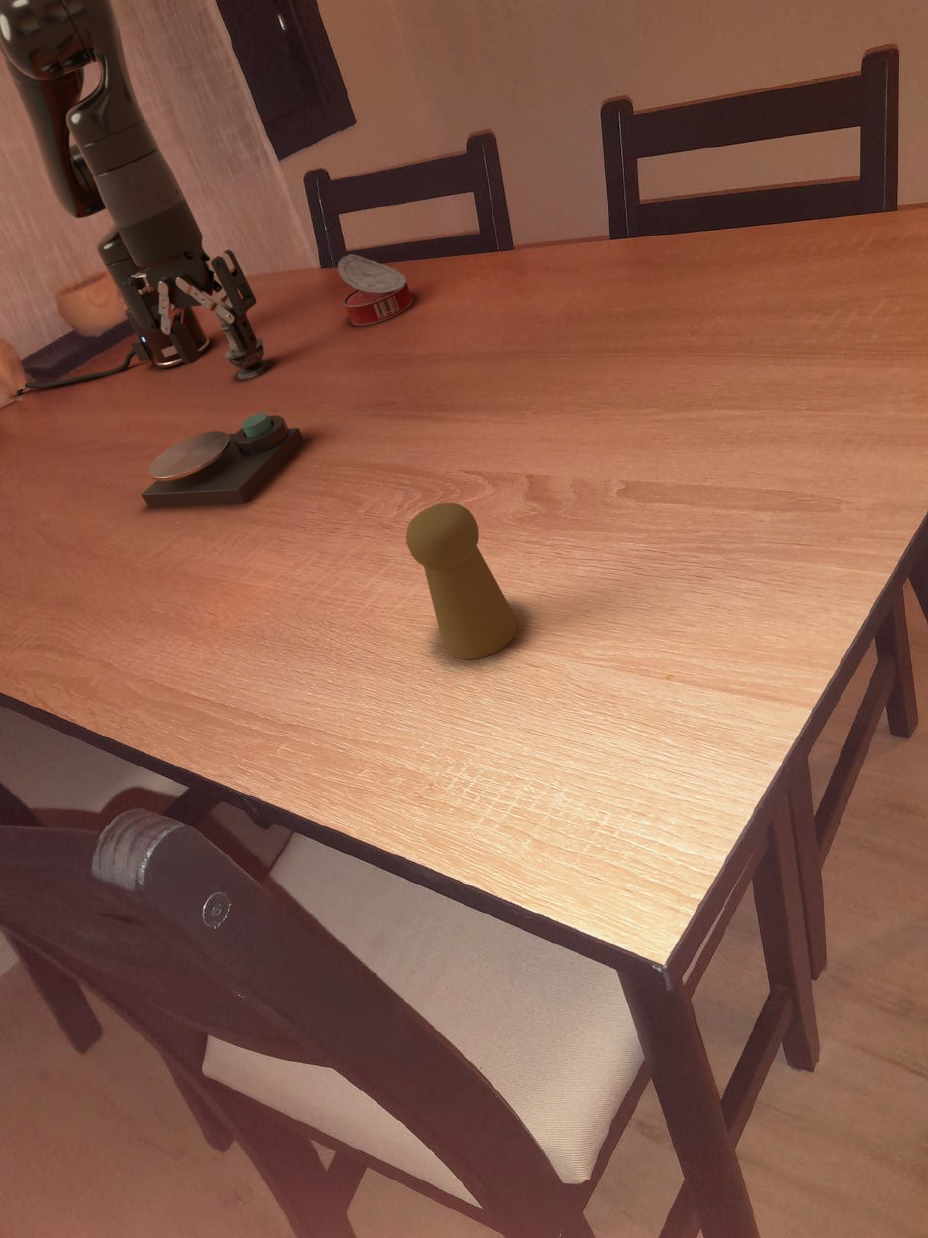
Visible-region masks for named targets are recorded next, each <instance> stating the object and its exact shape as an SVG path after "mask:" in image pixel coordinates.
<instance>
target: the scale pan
mask: <svg viewBox="0 0 928 1238" xmlns="http://www.w3.org/2000/svg"><path fill="white" fill-rule="evenodd" d="M227 434H228V433H226V432H224V431H221V430H214V431H213V430H212V431H208V432H202V433H199V434H195V435H193V436H190V437H187V438H185V439H183V440H181V441H178V442H177V443H174V444H173V445H171V446H170V447H168V448H167V449H165V450H164V451H162V452H161V453H160V454H159V455H158V456H156V457H155V458H154V459H153V461H152V462H151V464H150V465H149V467H148V474H149V476H150V477H151V479H153V480H154V481H170V480H175V479H179V478H182V477H185V476H188V475H190V474H193V473H195V472H197V471H199V470H201V469H203V468H205V467H207V466H208V465H210V464H211V463H213V462H214V461H216V460H217V459H218V458H219V457H221V456H222V455H223V454H224V453H225V452H226V450H227V449H228V447H229V446H230V438H229V436H228V435H227Z"/></svg>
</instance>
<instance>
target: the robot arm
mask: <svg viewBox="0 0 928 1238" xmlns="http://www.w3.org/2000/svg"><path fill="white" fill-rule="evenodd" d="M122 41H123V40H122V35H121V30H120V25H119V21H118V17H117V13H116V8H115V6H114V3H113V1H112V0H0V54H1V57H2V60H3V62H4V64H5V67H6V69H7V72H8V74H9V77H10V79H11V81H12V83H13V86H14V87H15V90H16V93H17V94H18V97H19V99H20V102H21V104H22V107H23V109H24V111H25V113H26V116H27V118H28V122H29V124H30V127H31V130H32V132H33V136H34V139H35V142H36V145H37V150H38V152H39V155H40V160H41V163H42V166H43V168H44V171H45V174H46V178H47V180H48V183H49V185H50V189H51V190H52V192H53V195H54V197H55V198H56V200H57V202H58V204H59V205H60V206H61V208H62V209H63V211H65V212H66V213H67V214H68V215H69V216H70V217H73V218H76V219H85V218H87V217H91V216H93V215H96V214H98V213H100V212H102V211H105V210H106V211H107V213H108V214H109V216H110V218H111V220H112V222H113V224H112V225H111V227H110V228H109V229H108V230H107V232H106V233H105V234H104V235H103V236H102V237H101V238H100V239H99V240H98V241H97V244H96V251H97V254H98V256H99V258H100V260H101V261H102V263H103V265H104V267H105V269H106V271H107V273H108V274H109V276H110V279H111V280H112V282H113V284H114V285H115V288H116V289H117V291H118V293H119V295H120V297H121V298H122V301H123V302H124V304H125V306H126V310H125V311H124V312H125V316H126V317H127V319H128V321H129V323H130V325H131V327H132V329H133V330H134V333H135V334H136V336H137V338H136V339H135V340H133V341H132V342H131V343H130V346H131V348H132V349H131V350H130V351H129V352H128V353H127V354H126V356H125V358H124V361H123V363H122V364H120V365H118V366H117V367H115V368H113V369H109V370H105V371H99V372H92V373H86V374H82V375H77V376H74V377H69V378H64V379H60V380H55V381H50V382H45V383H44V382H43V383H42V382H24V383H25V387H26V388H24V389H20V390H18V389H16V393H15V395H16V397H20V396H22V394H23V392H24V390H25V389H49V388H56V387H59V386H64V385H69V384H70V385H71V384H75V383H78V382H82V381H83V382H84V381H87V380H92V379H98V378H99V379H100V378H105V377H109V376H111V375H114V374H118V373H121V372H124V370H126V369H128V367H129V366H130V364H131V360H132V359H133V357H135V356H136V357H137V359H138V361H139V362H142V361H143V362H145V361H150V363H151V364H152V366H153V367H154V366H155V367H158V368H160V369H166V368H167V369H168V368H171V367H176V366H178V365H181V364H185V365H192V364H194V363H195V362H197V361H198V360H199V359H201V354H202V353H204V352H205V351H206V350H207V349H209V347H210V346H211V341H210V339H209V337H208V336H207V334H206V333H205V330H204V328H203V326H202V324H201V322H200V320H199V318H198V315H197V314H196V311H195V310H194V308H193V307H201V306H202V307H204V308H205V309H206V310H208V311H210V312H215V314H216V313H218V314H219V315H220V316H221V317H222V318H223V319H225V320H226V321H227V322H229V323H228V324H227V326H228V328H229V330H230V332H231V334H232V336H233V338H234V340H235V342H236V345H237V347H238V349H239V351H240V353H241V354H242V355H248V354H250V353H251V352H252V351H254V350H255V349H256V347H257V344H256V343H257V339H258V338H257V335H256V334H255V331H254V330H253V328H252V327H253V326H252V325H251V323H250V321H249V319H248V316H247V312H248V311H249V310H251V309H252V308H253V307H254V306H256V304H257V298H256V296H255V294H254V291H253V290H252V288H251V286H250V284H249V282H248V279H247V277H246V275H245V274H244V272H243V269H242V267H241V266H240V263H239V262H238V260H237V257H236V255H235V253H234V251H232V250H230V249H226V250H224V251H222V252H221V253H220V254H219V255H216V256H213V257H210V256H209V255H208V253H207V252H206V251H205V250H204V247H203V238H204V237H203V234H202V232H201V229H200V227H199V225H198V222H197V221H196V218H195V217H194V214H193V212H192V210H191V208H190V205H189V204H188V202H187V199H186V197H185V195H184V193H183V190H182V189H181V187H180V184H179V182H178V180H177V178H176V175H175V174H174V171H173V170H172V168H171V167H170V165H169V163H168V161H167V160H166V158H165V157H164V155H163V153H162V152H161V149H160V148H159V146H158V145H159V144H158V143H157V141H156V139H155V137H154V135H153V133H152V131H151V130H152V129H151V128H150V126H149V124H148V121H147V120H146V118H145V116H144V114H143V111H142V107H141V106H140V104H139V101H138V98H137V96H136V93H135V91H134V88H133V84H132V81H131V78H130V73H129V69H128V66H127V61H126V57H125V52H124V45H123V42H122ZM92 63H98V66H99V69H100V70H99V71H100V79H99V82H98V84H97V86H96V87H95V88H94V89H93V91H92V92H90V93H89V94H88V95H87V96H85V97H84V98H82V99H81V97H82V93H83V90H84V85H85V67H86V66H88V65H91V64H92ZM71 137H72V138H73V140H74V142H75V143H72V144H70V140H71V139H70V138H71ZM214 292H215V294H214ZM223 303H225V304H227V305H228V306H229V307H230V309H229V308H228V307H227V306H226V305H224V304H223Z"/></svg>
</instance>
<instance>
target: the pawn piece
mask: <svg viewBox="0 0 928 1238" xmlns="http://www.w3.org/2000/svg"><path fill="white" fill-rule="evenodd" d="M479 537H480V534H479V527H478V523H477V520H476V519H475V517H474V515H473V513H472V512H471V511H470V510H469V509H468V508H466V507H465V506H463V505H462V504H459V503H456V502H455V503H454V502H444V503H443V502H442V503H437V504H433V505H431V506H429V507H427V508H424V509H423V510H422V511H421V510H420V512H418V514H416V515H415V516H414V517H413V518H411V520H410V521H409V523H408V524H407V530H406V533H405V542H406V546H407V548H408V550H409V553H410V556H412V559H414V560H415V562H417V563H418V564H419V565H421V566H423V568H424V572H425V573H424V574H425V577H426V581H427V585H428V589H429V593H430V598H431V601H432V605H433V609H434V614H435V617H436V622H437V625H438V631H439V634H440V639H441V642H442V646H443V649H444V651H445V652H446V653H447V654H448V655H450V656H451V657H453V658H456V659H459V660H476V659H481V658H486V657H488V656H490V655H493V654H495V653H497V652H499V651H500V650H502V649H503V648H504V647H506V646H507V645H508V644H509V643H510V642H511V641H512V640H513V639H514V638H515V635H516V634H517V631H518V626H519V621H518V619H517V617H516V615H515V613H514V611H513V610H512V608H511V606H510V604H509V602H508V600H507V599H506V597H505V595H504V593H503V591H502V589H501V587H500V586H499V584H498V582H497V580H496V578H495V576H494V574H493V573H492V571H491V569H490V567H489V566H488V563H487V562H486V559H485V558H484V556H483V555H482V553H481V551H480V549H479V547H478V544H479Z"/></svg>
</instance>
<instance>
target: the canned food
mask: <svg viewBox="0 0 928 1238" xmlns="http://www.w3.org/2000/svg"><path fill="white" fill-rule="evenodd" d="M337 264H338V265H337V267H338V274H339V277H341V279H342V280H343V281H344V283H346V284H347V285H349V286H350V287H351V288H353V289H356V290H354V291H352V292H351V293H350V294H348V295H347V296H346V297H345V299H344V301H343V305H344V306H345V309H346V312H347V315H348V317H349V320H350V322H351V324H353V325H355V326H358V327H359V326H369V325H374V324H378V323H381V322H384V321H386V320H389V319H391V318H393V317H395V316H397V315H399V314H401V313H403V312H404V311H405V310H406V309H408V308H409V307H410V306H411V305H412V303H413V300H414V299H413V296H412V294H411V291H410V288H409V286H408V282H407V279H406V276H405V275H404V274H403V273H401V272H400V271H399V270H397V269H395V268H392V267H390V266H388V265H387V264H383V263H379V262H377V261H375V260H371V259H368V258H366V257H364V256H361V255H357V254H353V253H350V254H348V255H343V256H342V257H341V259H340V260H339V261H338V263H337Z"/></svg>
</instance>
